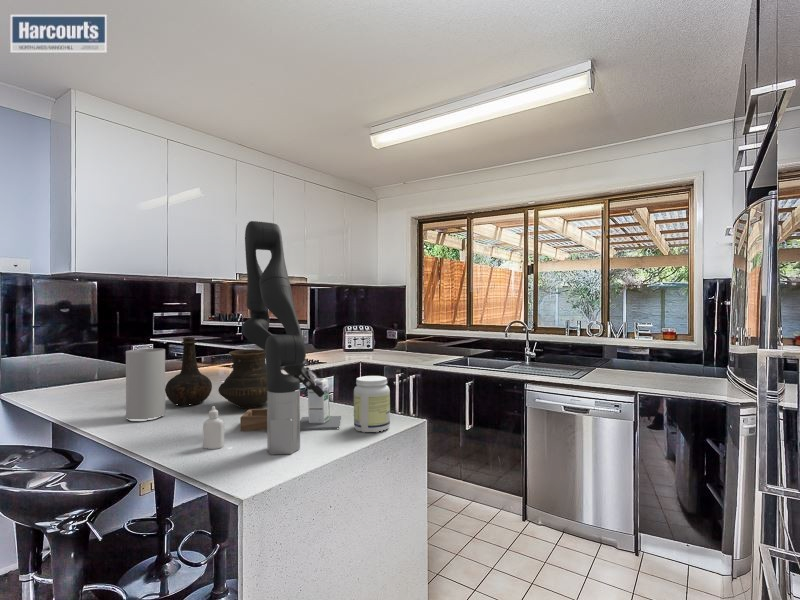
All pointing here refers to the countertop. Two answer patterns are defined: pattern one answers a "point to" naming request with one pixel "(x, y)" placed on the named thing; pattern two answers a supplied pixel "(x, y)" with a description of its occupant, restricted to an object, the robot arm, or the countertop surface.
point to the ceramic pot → (246, 379)
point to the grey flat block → (330, 424)
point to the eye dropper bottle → (213, 431)
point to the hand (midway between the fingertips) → (323, 392)
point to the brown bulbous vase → (188, 379)
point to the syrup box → (319, 403)
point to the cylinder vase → (145, 383)
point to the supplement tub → (371, 404)
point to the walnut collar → (254, 420)
